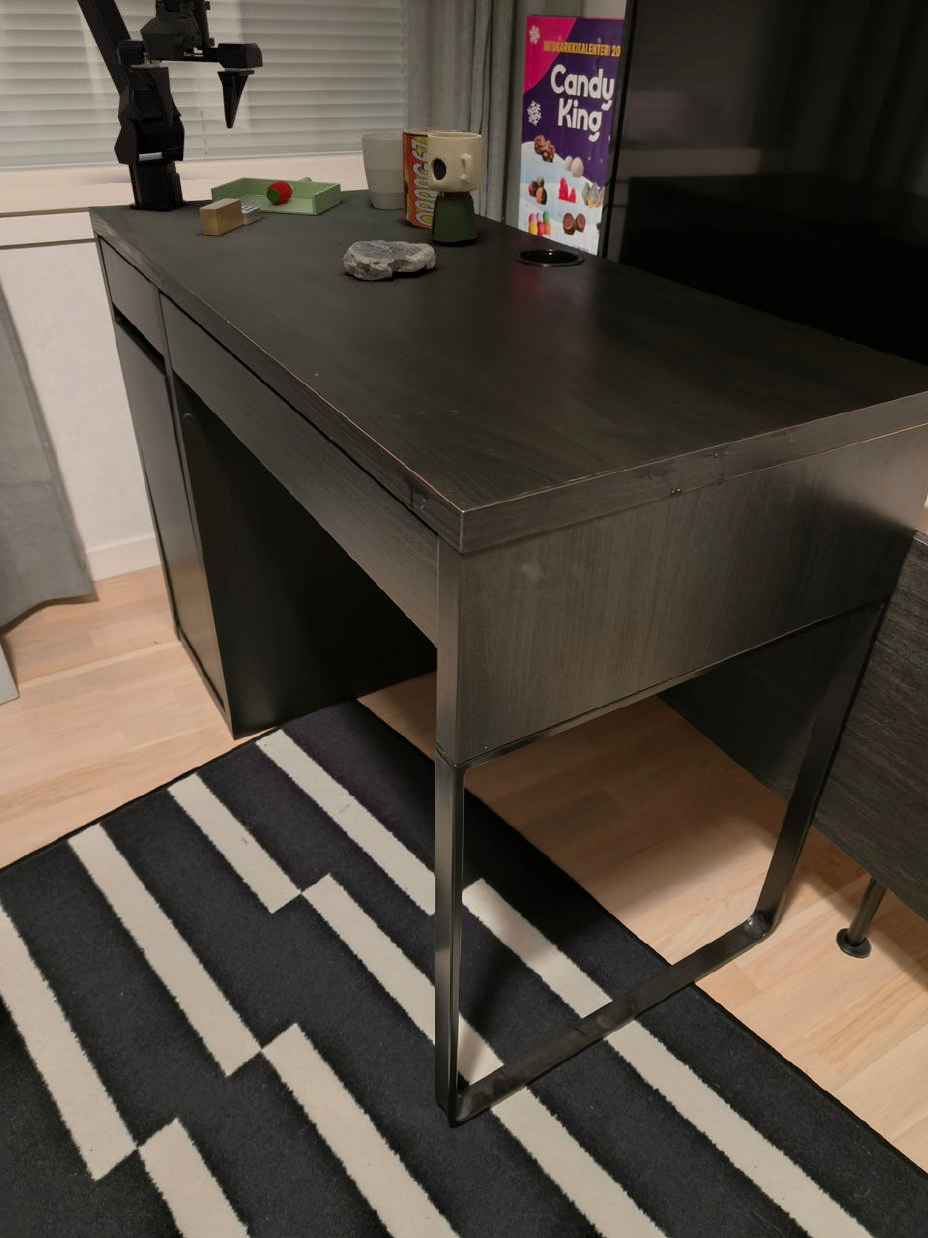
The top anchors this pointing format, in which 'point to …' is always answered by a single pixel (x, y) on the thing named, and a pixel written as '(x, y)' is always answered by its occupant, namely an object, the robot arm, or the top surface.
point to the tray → (316, 202)
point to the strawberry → (279, 192)
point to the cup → (384, 168)
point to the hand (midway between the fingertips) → (199, 126)
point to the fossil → (386, 258)
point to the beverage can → (418, 177)
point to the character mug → (454, 183)
